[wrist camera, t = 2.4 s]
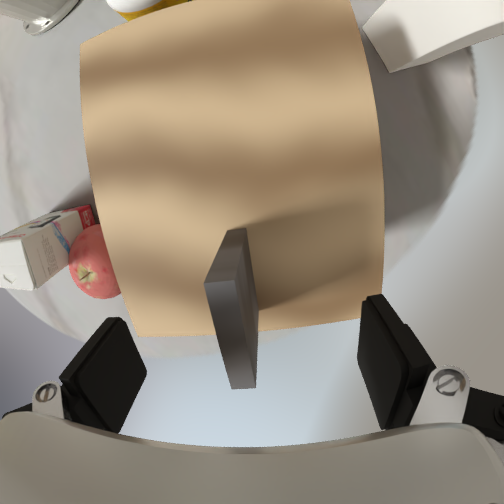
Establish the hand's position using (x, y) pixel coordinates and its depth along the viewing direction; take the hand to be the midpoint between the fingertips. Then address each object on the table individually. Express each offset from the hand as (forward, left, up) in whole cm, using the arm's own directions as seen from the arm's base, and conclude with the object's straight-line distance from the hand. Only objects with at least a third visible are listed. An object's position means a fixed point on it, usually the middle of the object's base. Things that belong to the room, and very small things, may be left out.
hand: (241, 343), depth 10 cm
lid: (-6, 0, -6) cm, 9 cm away
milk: (-18, +18, -19) cm, 32 cm away
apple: (+1, -16, -19) cm, 24 cm away
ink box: (-3, -23, -19) cm, 29 cm away
